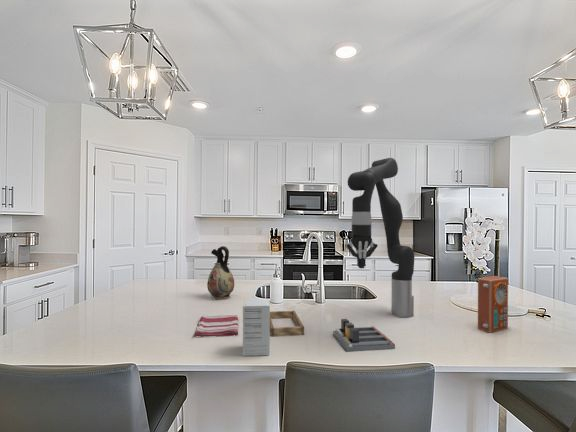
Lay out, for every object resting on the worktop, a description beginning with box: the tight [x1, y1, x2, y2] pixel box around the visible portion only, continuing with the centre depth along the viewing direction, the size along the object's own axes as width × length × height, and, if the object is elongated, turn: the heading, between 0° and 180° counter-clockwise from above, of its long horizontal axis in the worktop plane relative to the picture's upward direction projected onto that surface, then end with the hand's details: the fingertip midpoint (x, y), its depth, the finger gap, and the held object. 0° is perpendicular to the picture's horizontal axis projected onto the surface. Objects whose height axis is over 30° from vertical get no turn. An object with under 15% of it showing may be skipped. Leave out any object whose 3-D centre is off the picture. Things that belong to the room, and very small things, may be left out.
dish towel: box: [194, 314, 239, 337], centre depth 138 cm, size 17×23×3 cm
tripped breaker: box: [345, 322, 355, 337], centre depth 122 cm, size 2×3×5 cm
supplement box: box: [242, 298, 271, 357], centre depth 114 cm, size 10×9×17 cm
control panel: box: [477, 275, 509, 334], centre depth 137 cm, size 21×7×15 cm
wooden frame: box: [270, 310, 305, 337], centre depth 139 cm, size 13×23×3 cm, turn 8°
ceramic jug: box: [206, 245, 235, 300], centre depth 187 cm, size 17×15×30 cm
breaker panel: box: [332, 318, 396, 352], centre depth 123 cm, size 18×16×6 cm
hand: (361, 267), depth 127 cm, fingers closed
